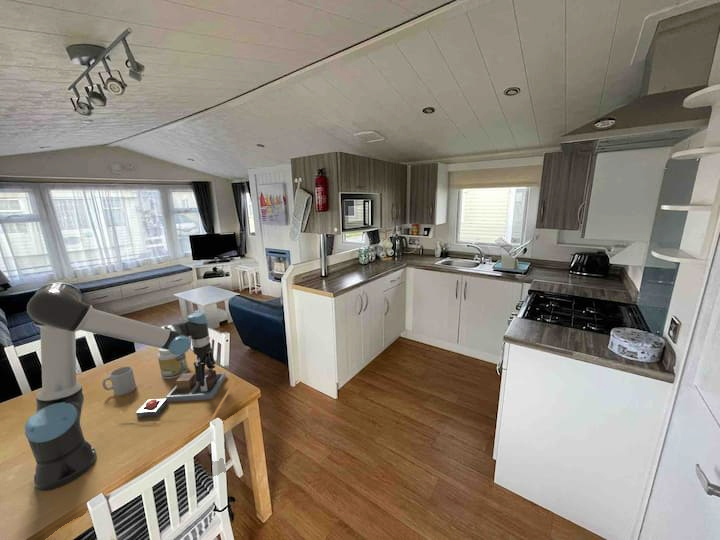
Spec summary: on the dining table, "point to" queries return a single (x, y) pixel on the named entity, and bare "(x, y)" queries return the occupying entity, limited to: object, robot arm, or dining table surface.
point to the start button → (151, 404)
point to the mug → (121, 381)
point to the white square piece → (145, 412)
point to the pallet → (197, 391)
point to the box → (209, 378)
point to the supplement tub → (171, 364)
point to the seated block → (186, 382)
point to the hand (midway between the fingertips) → (208, 385)
